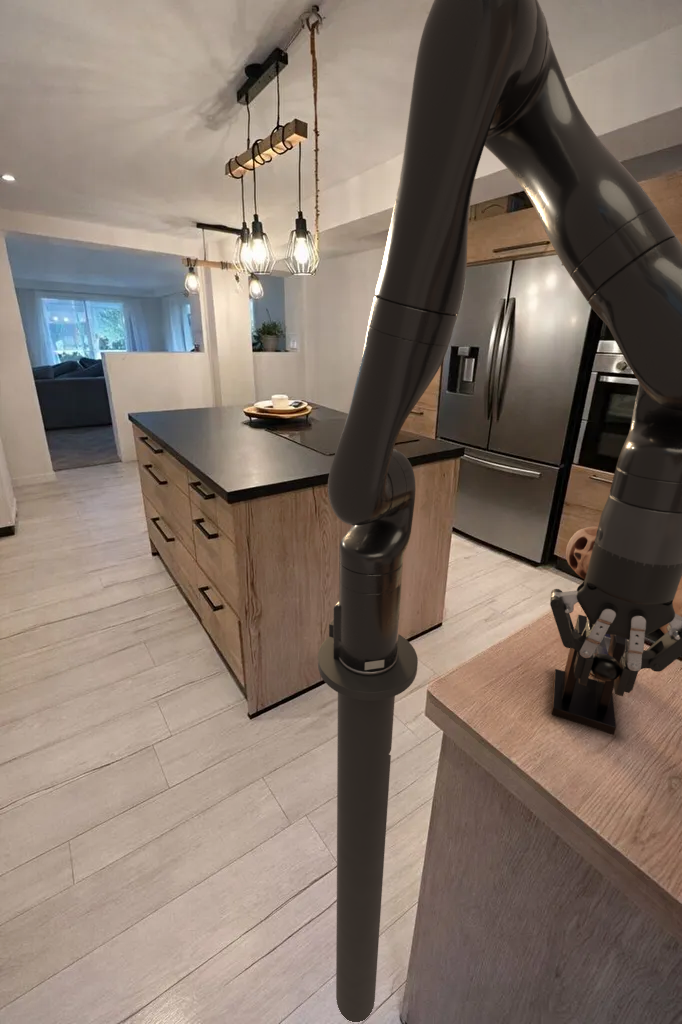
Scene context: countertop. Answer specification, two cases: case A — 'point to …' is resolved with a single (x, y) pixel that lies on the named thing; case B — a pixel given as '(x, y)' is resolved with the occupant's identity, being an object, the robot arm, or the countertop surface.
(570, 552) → the sculpture
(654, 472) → the robot arm
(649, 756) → the countertop surface
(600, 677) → the lever
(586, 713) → the bracket
